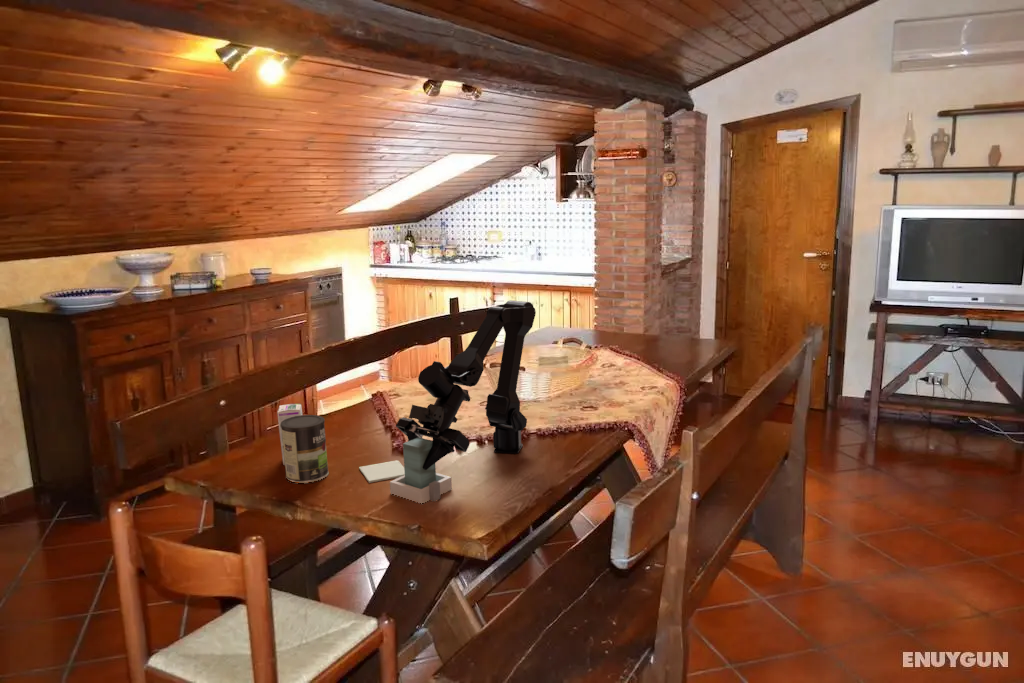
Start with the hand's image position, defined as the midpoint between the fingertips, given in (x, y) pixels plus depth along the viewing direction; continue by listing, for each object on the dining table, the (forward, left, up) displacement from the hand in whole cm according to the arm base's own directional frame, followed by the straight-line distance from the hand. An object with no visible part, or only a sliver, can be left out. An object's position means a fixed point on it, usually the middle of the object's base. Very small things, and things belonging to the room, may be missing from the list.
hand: (415, 466), depth 180 cm
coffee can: (+30, -6, -7) cm, 32 cm away
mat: (+12, -11, -7) cm, 18 cm away
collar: (-1, -1, -7) cm, 7 cm away
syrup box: (+38, -15, -7) cm, 42 cm away
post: (-1, -1, -7) cm, 7 cm away
